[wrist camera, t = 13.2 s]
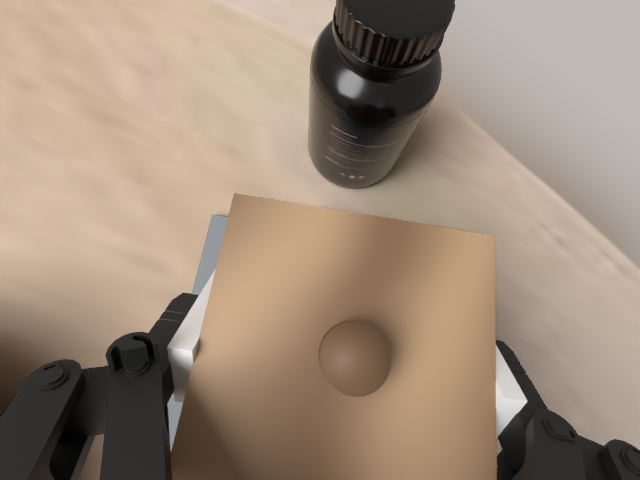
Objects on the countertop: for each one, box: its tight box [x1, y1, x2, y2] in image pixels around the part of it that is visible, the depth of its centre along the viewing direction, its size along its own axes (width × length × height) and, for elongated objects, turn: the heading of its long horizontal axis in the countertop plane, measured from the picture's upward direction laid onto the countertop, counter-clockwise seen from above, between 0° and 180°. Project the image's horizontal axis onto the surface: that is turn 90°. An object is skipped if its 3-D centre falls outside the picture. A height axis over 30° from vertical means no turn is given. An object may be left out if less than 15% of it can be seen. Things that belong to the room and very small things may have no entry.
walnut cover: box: [170, 193, 497, 480], centre depth 14 cm, size 10×10×10 cm
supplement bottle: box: [308, 0, 455, 188], centre depth 18 cm, size 7×7×12 cm
